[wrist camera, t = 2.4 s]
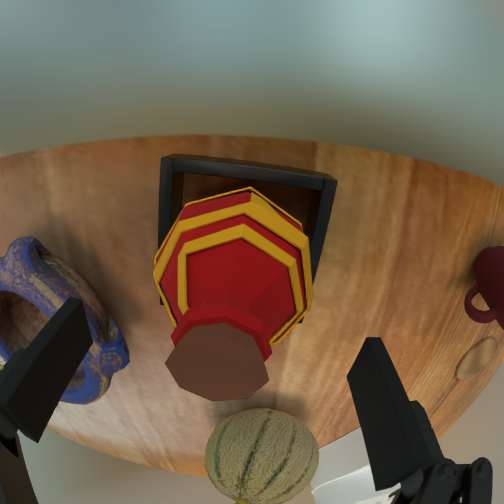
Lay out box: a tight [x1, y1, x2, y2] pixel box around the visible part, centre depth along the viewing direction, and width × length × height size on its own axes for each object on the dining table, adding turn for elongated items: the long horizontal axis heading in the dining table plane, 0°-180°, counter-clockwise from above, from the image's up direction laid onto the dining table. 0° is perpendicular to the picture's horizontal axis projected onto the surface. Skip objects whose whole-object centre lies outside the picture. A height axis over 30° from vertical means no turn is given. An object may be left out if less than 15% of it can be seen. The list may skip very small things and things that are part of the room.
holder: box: [158, 154, 337, 323], centre depth 22 cm, size 13×13×3 cm
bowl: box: [0, 237, 130, 404], centre depth 23 cm, size 18×18×10 cm
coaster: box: [456, 337, 497, 379], centre depth 31 cm, size 9×9×1 cm
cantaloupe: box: [205, 408, 319, 504], centre depth 28 cm, size 15×15×15 cm
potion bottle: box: [153, 187, 313, 401], centre depth 17 cm, size 10×10×15 cm
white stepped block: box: [311, 427, 401, 504], centre depth 35 cm, size 20×25×14 cm
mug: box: [464, 246, 504, 330], centre depth 20 cm, size 11×8×10 cm
